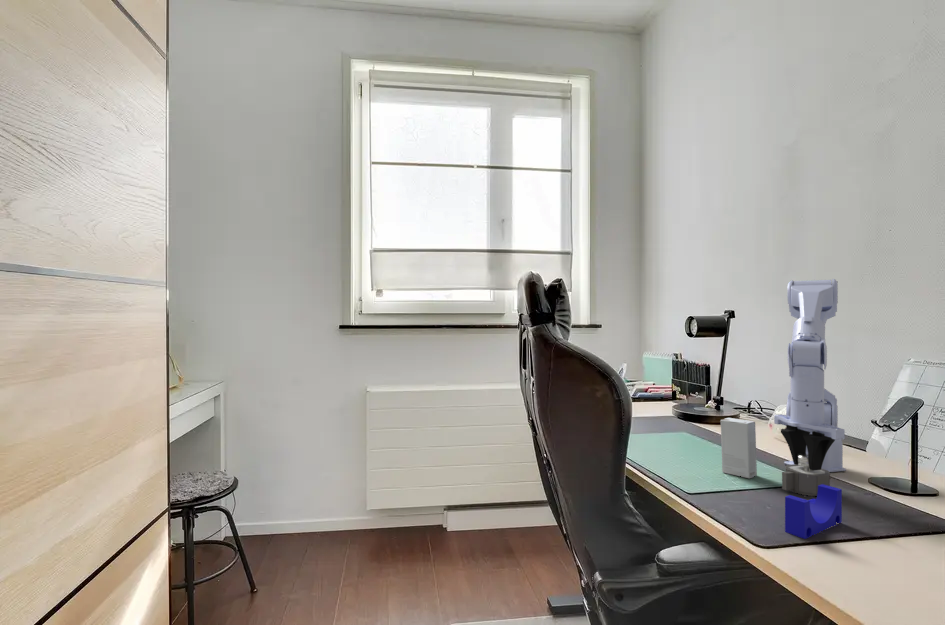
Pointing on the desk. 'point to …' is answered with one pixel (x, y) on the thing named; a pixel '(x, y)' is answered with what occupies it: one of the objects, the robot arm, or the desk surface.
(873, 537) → the desk surface
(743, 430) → the skincare box
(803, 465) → the plunger
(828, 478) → the press
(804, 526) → the blue u-shaped cradle block
